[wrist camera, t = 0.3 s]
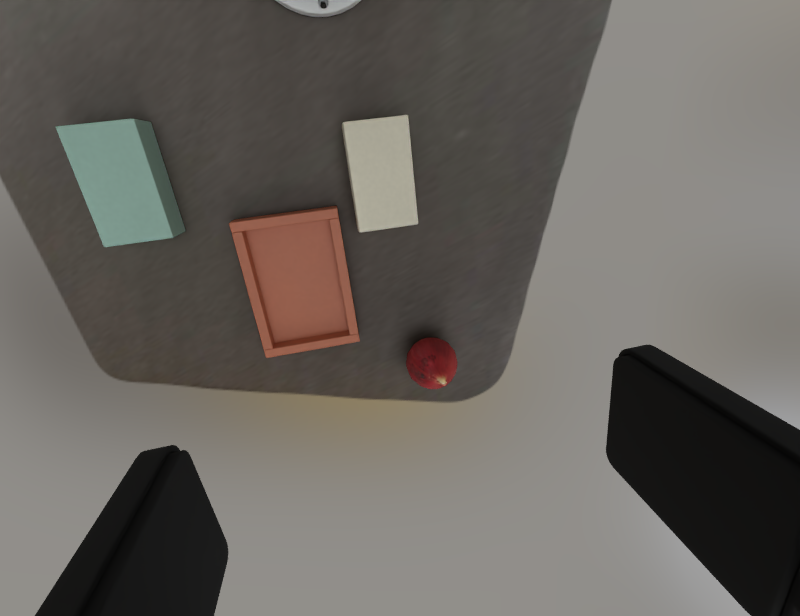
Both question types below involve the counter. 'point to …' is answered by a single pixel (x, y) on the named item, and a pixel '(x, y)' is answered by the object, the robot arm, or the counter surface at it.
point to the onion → (431, 363)
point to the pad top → (381, 172)
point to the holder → (297, 279)
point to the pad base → (123, 180)
